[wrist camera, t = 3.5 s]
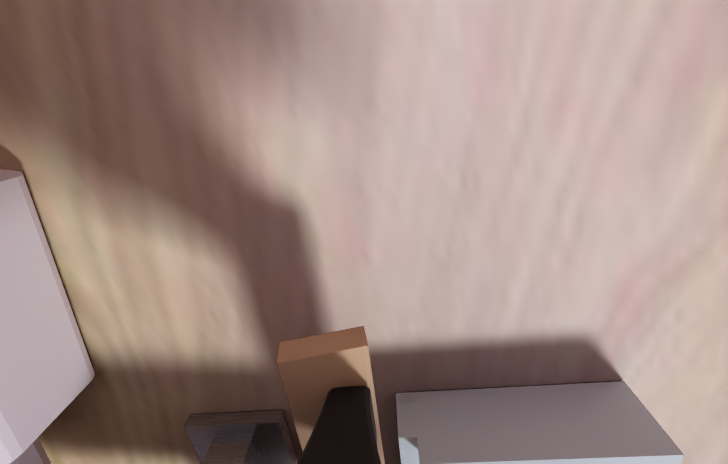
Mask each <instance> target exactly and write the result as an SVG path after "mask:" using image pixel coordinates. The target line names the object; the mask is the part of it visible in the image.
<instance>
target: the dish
mask: <svg viewBox="0 0 728 464" xmlns="http://www.w3.org/2000/svg"><path fill="white" fill-rule="evenodd" d="M396 407H397V424H398V439H399V448H400V457H401V464H680V463H681V461H682V458H683V456H684V454H683V453H682V452H681V451H680V449H679V448H678V447H677V446H676V444H675V443H674V442H673V441H672V440H671V438H670V437H669V436H668V435H667V433H666V432H665V431H664V430H663V429H662V427H661V426H660V425H659V424H658V422H657V421H656V420H655V419H654V417H653V416H652V415H651V414H650V413H649V411H648V410H647V409H646V408H645V406H644V405H643V404H642V403H641V402H640V400H639V399H638V398H637V397H636V395H635V394H634V393H633V392H632V390H631V389H630V388H629V387H628V386H627V384H626V383H625V382H624V381H618V382H599V383H580V384H561V385H542V386H523V387H504V388H485V389H465V390H446V391H427V392H408V393H396Z"/></svg>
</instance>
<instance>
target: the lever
mask: <svg viewBox="0 0 728 464" xmlns="http://www.w3.org/2000/svg"><path fill="white" fill-rule="evenodd" d="M277 366H278V369H279V373H280V376H281V380H282V383H283V386H284V390H285V393H286V397H287V400H288V403H289V407H290V410H291V414H292V417H293V420H294V424H295V427H296V431H297V434H298V437H299V441H300V444H301V448H302V451H303V450H304V448H305V446H306V444H307V442H308V440H309V438H310V436H311V433H312V431H313V429H314V427H315V424H316V422H317V420H318V417H319V415H320V413H321V410H322V408H323V405H324V403H325V400H326V397H327V394H328V392H329V391H330V390H331V389H333V388H339V387H352V386H367V387H368V388H370V391H371V398H372V405H373V411H374V418H375V425H376V432H377V449H378V453H379V457H380V461H381V464H385V461H384V454H383V447H382V440H381V433H380V426H379V419H378V412H377V405H376V398H375V391H374V384H373V377H372V370H371V363H370V356H369V349H368V343H367V339H366V334H365V330H364V326H361V327H356V328H351V329H345V330H340V331H335V332H330V333H325V334H319V335H314V336H309V337H304V338H298V339H293V340H288V341H283V342H279V349H278V357H277Z"/></svg>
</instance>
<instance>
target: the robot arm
mask: <svg viewBox="0 0 728 464" xmlns="http://www.w3.org/2000/svg"><path fill="white" fill-rule="evenodd" d="M297 464H381V461H380V457H379V453H378V449H377V432H376V425H375V418H374V411H373V405H372V398H371V391H370V388H368V387H367V386H352V387H339V388H333V389H331V390H330V391H329V392H328V394H327V397H326V400H325V403H324V405H323V408H322V410H321V413H320V415H319V417H318V420H317V422H316V424H315V427H314V429H313V431H312V433H311V436H310V438H309V440H308V442H307V444H306V446H305V448H304V450H303V452H302V454H301V457H300V459H299V461H298V463H297Z"/></svg>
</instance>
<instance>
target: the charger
mask: <svg viewBox="0 0 728 464" xmlns="http://www.w3.org/2000/svg"><path fill="white" fill-rule="evenodd" d="M94 375H95V373H94V370H93V367H92V364H91V362H90V359H89V356H88V353H87V351H86V348H85V345H84V342H83V339H82V337H81V334H80V331H79V328H78V326H77V323H76V320H75V317H74V314H73V312H72V309H71V306H70V303H69V301H68V298H67V295H66V292H65V289H64V287H63V284H62V281H61V278H60V276H59V273H58V270H57V267H56V265H55V262H54V259H53V256H52V253H51V251H50V248H49V245H48V242H47V240H46V237H45V234H44V231H43V228H42V226H41V223H40V220H39V217H38V215H37V212H36V209H35V206H34V203H33V201H32V198H31V195H30V192H29V190H28V187H27V184H26V181H25V178H24V176H23V173H22V172H20V171H16V170H4V169H0V464H50V463H51V462H50V460H49V458H48V456H47V454H46V452H45V450H44V448H43V446H42V444H41V442H40V440H39V438H38V437H39V436H40V434H41V433H42V432H43V431H44V430H45V429H46V428H47V427H48V426H49V425H50V424H51V423H52V422H53V421H54V420H55V419H56V418H57V417H58V415H59V414H60V413H61V412H62V411H63V410H64V409H65V408H66V407H67V406H68V405H69V404H70V403H71V402H72V401H73V400H74V399H75V397H76V396H77V395H78V394H79V393H80V392H81V391H82V390H83V389H84V388H85V387H86V386H87V385H88V384H89V383H90V382H91V381H92V379H93V377H94Z"/></svg>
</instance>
